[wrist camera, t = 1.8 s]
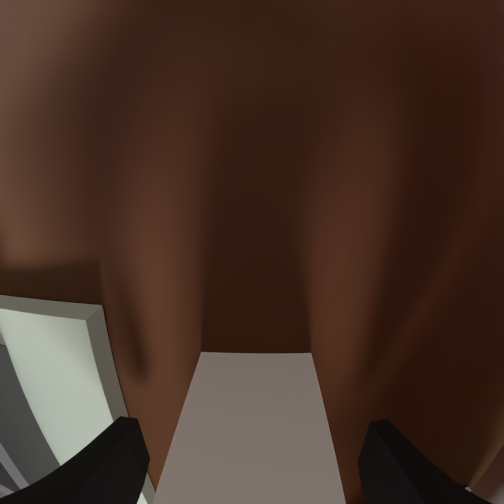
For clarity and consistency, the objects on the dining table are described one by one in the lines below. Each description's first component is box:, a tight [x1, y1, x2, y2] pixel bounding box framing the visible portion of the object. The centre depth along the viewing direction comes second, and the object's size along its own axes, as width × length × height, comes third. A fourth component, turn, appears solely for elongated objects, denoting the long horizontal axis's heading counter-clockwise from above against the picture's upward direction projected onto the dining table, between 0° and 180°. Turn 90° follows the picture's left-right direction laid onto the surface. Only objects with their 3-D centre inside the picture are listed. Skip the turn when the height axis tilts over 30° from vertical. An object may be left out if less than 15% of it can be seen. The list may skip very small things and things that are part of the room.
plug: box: [153, 352, 346, 504], centre depth 8 cm, size 4×5×6 cm
